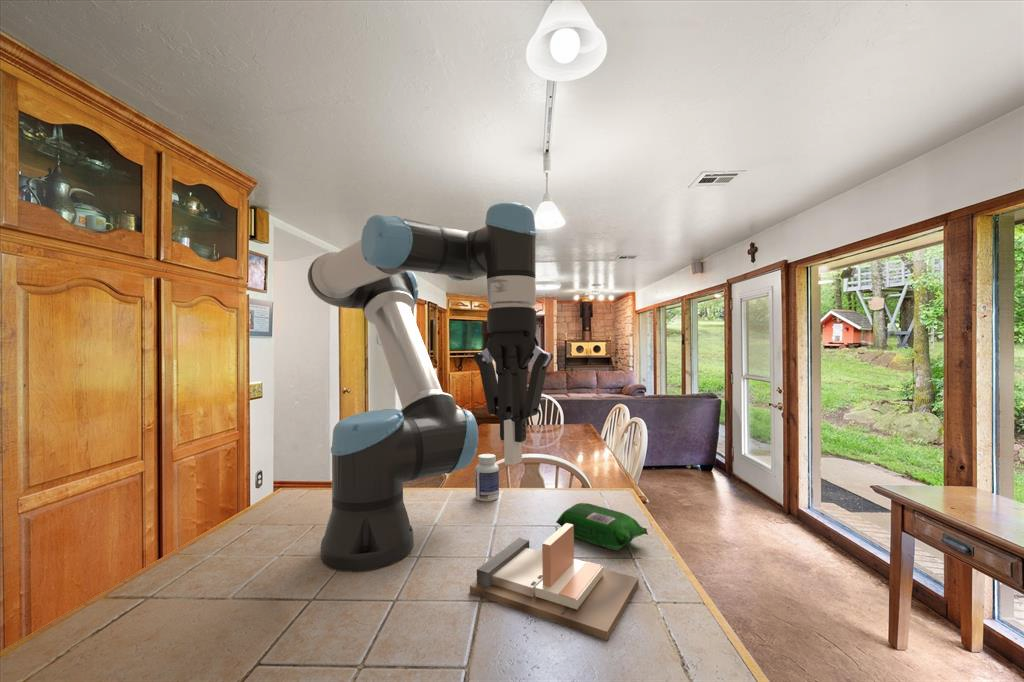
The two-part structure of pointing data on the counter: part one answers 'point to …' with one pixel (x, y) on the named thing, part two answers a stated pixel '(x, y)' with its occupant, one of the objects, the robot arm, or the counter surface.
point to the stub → (565, 571)
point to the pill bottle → (487, 478)
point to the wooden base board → (515, 584)
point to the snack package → (601, 525)
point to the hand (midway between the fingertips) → (513, 462)
